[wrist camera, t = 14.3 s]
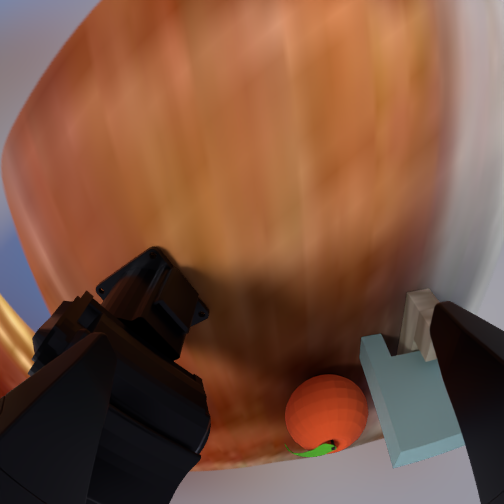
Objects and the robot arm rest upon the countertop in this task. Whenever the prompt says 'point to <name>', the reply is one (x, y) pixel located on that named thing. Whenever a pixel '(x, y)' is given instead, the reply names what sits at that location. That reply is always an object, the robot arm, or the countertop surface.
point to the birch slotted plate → (418, 324)
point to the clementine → (326, 414)
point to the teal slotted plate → (409, 403)
